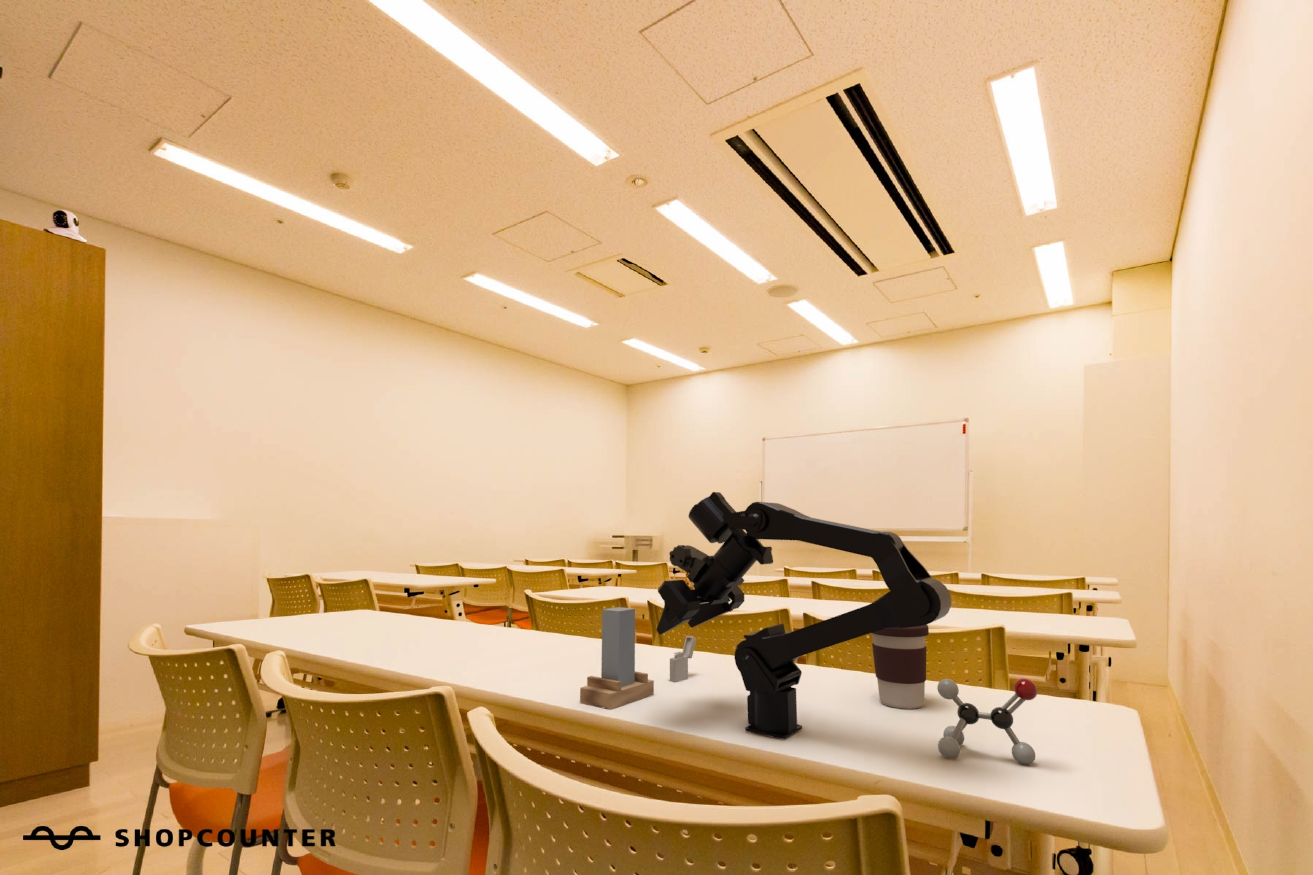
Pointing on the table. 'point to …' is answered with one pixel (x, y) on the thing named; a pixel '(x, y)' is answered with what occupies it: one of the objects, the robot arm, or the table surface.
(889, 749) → the table surface
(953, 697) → the molecular model
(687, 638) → the lighter
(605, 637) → the grey square pillar
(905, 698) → the coffee cup
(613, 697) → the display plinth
